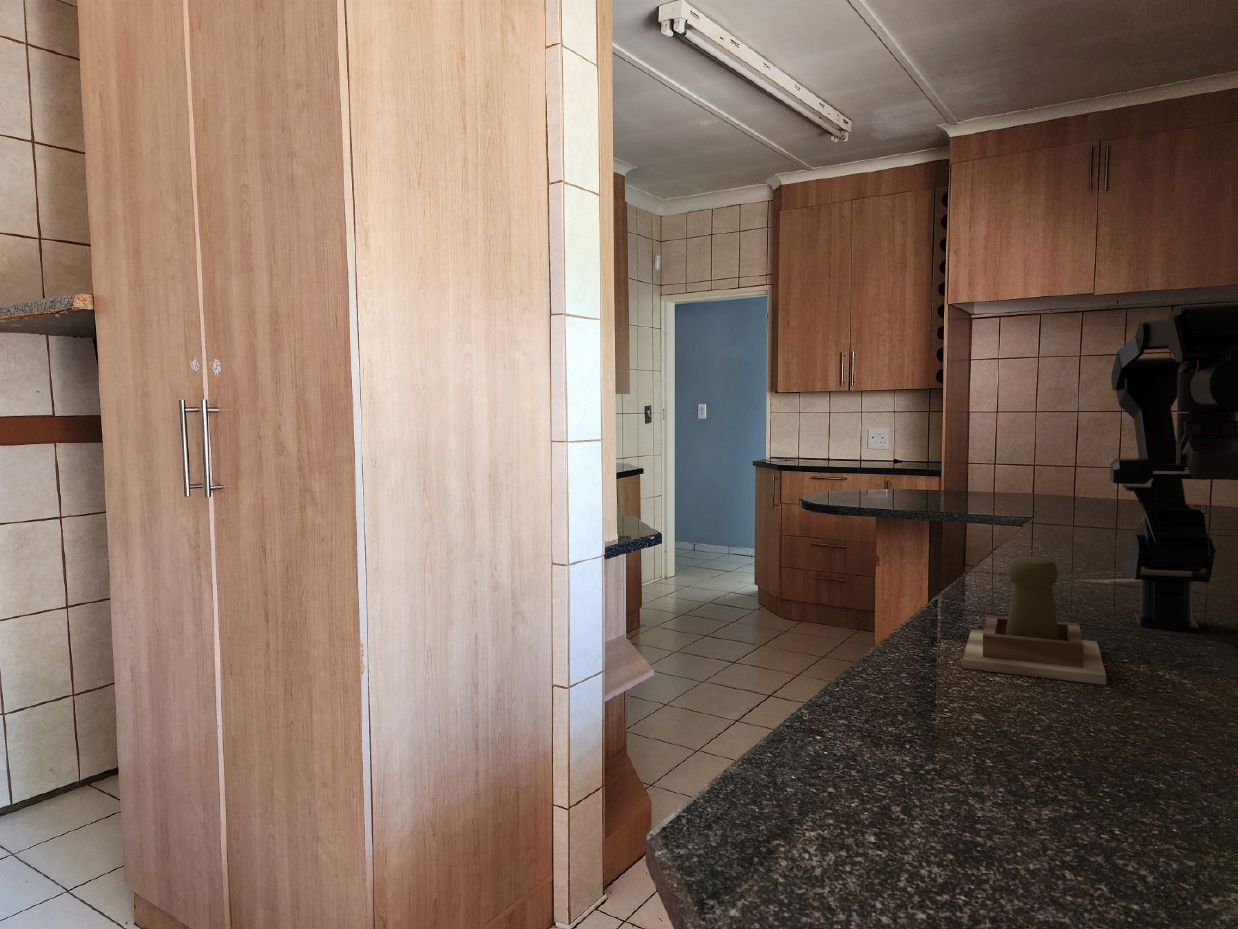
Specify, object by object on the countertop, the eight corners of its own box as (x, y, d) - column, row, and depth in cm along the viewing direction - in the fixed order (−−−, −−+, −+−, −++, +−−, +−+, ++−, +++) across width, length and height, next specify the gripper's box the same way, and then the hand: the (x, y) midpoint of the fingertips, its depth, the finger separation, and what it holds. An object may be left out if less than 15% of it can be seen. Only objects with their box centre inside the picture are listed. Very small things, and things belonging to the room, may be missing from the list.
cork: (1069, 658, 89) (1069, 562, 88) (1011, 656, 90) (1012, 561, 90) (1051, 643, 95) (1051, 553, 94) (997, 642, 96) (997, 553, 96)
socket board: (971, 637, 102) (971, 610, 102) (1096, 649, 95) (1097, 621, 95) (962, 668, 90) (962, 638, 90) (1106, 685, 83) (1106, 652, 83)
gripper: (1118, 414, 89) (1116, 551, 90) (1334, 410, 80) (1330, 562, 81) (1110, 414, 98) (1109, 537, 99) (1302, 410, 90) (1299, 545, 91)
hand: (1204, 545), depth 92 cm, fingers open, 9 cm apart
